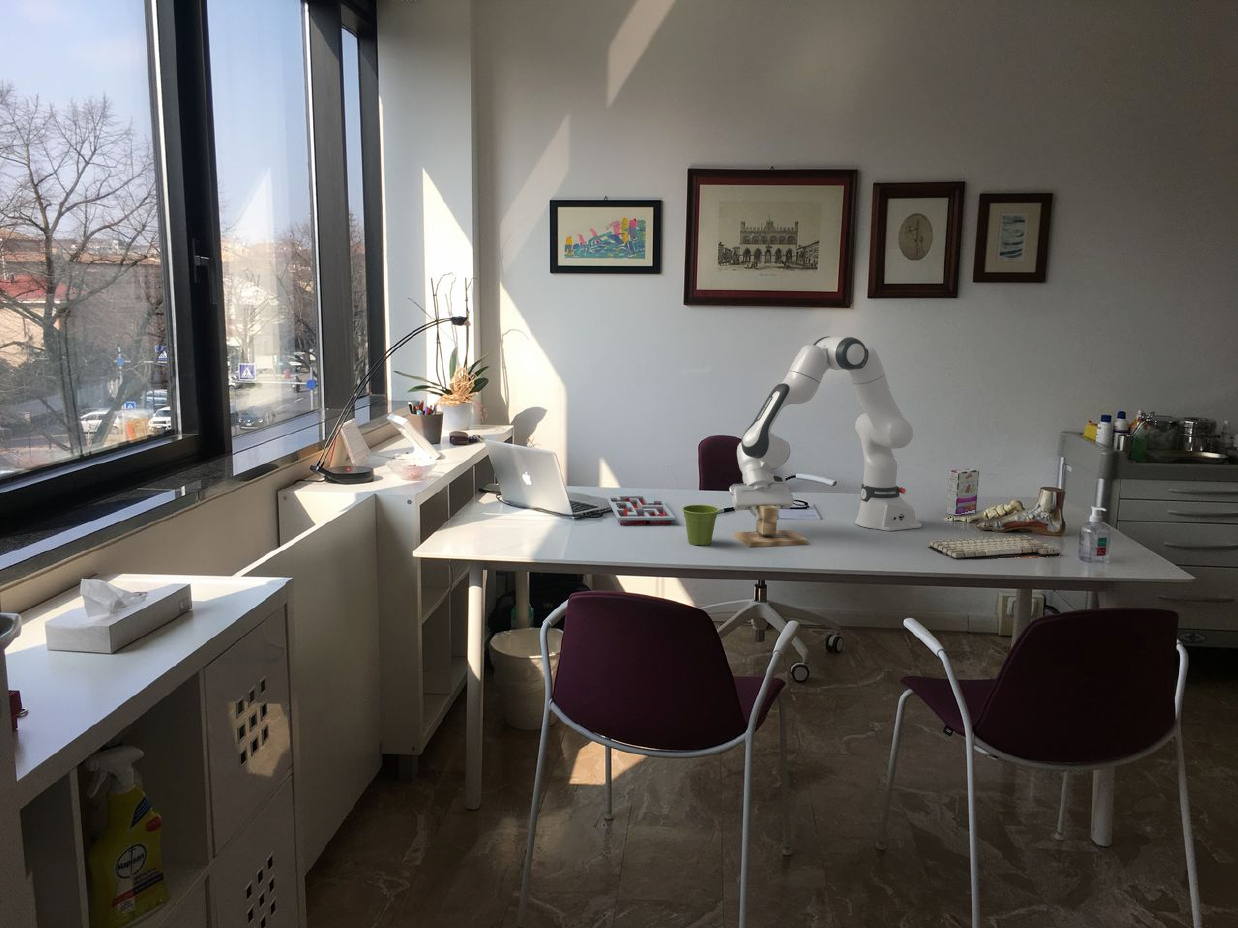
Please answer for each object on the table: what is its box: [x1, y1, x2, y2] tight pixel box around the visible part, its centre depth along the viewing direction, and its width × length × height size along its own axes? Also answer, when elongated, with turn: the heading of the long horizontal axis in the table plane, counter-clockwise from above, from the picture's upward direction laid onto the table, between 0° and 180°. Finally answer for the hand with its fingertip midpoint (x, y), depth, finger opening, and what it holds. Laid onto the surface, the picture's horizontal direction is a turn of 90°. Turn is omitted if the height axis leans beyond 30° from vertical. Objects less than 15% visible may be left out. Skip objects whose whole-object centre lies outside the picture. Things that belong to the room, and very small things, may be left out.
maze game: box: [605, 494, 676, 526], centre depth 345 cm, size 35×20×3 cm, turn 7°
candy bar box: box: [945, 467, 980, 514], centre depth 358 cm, size 11×5×16 cm, turn 120°
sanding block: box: [755, 505, 778, 536], centre depth 312 cm, size 5×5×9 cm
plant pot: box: [681, 504, 720, 546], centre depth 307 cm, size 12×12×11 cm
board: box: [733, 529, 809, 548], centre depth 313 cm, size 20×13×2 cm, turn 105°
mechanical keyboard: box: [927, 534, 1061, 561], centre depth 307 cm, size 38×19×3 cm, turn 106°
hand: (768, 519), depth 311 cm, fingers closed on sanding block, 5 cm apart
